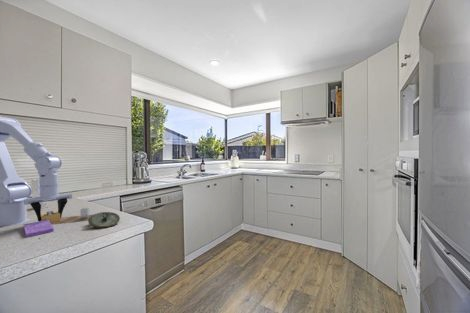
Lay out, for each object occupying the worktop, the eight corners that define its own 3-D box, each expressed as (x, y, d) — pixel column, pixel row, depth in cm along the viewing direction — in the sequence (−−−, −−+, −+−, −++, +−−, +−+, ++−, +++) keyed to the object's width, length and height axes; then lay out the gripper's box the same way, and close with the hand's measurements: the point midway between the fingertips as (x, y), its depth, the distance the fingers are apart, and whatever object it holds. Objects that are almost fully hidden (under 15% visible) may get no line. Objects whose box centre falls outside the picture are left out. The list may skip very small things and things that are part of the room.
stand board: (32, 228, 80) (31, 215, 80) (45, 220, 89) (45, 209, 89) (91, 221, 86) (91, 210, 86) (97, 215, 96) (97, 205, 96)
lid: (114, 219, 90) (114, 207, 90) (124, 223, 83) (124, 211, 83) (84, 225, 82) (84, 212, 82) (93, 231, 75) (93, 217, 75)
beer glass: (28, 208, 111) (28, 180, 111) (45, 205, 117) (44, 178, 117) (34, 210, 107) (33, 180, 107) (51, 207, 114) (50, 179, 114)
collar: (41, 224, 82) (41, 216, 82) (39, 221, 85) (39, 214, 85) (60, 221, 86) (60, 213, 86) (57, 218, 89) (57, 211, 89)
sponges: (48, 223, 82) (48, 219, 82) (54, 232, 74) (53, 227, 74) (23, 229, 77) (23, 224, 77) (26, 239, 69) (25, 233, 69)
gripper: (25, 188, 77) (26, 225, 77) (73, 184, 88) (74, 216, 89) (22, 187, 82) (23, 222, 82) (69, 183, 93) (70, 213, 93)
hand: (49, 219), depth 85 cm, fingers closed on collar, 6 cm apart
